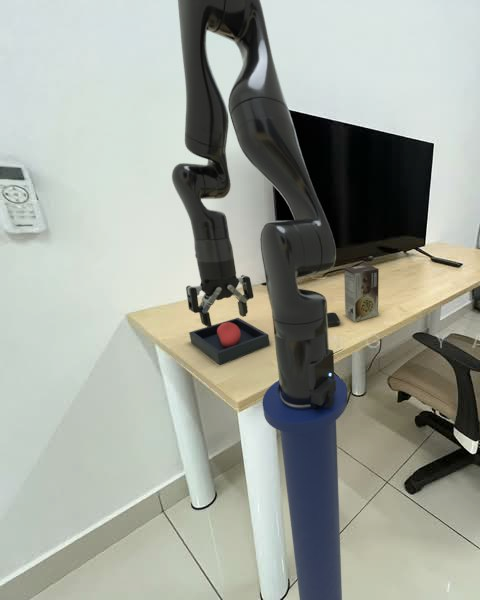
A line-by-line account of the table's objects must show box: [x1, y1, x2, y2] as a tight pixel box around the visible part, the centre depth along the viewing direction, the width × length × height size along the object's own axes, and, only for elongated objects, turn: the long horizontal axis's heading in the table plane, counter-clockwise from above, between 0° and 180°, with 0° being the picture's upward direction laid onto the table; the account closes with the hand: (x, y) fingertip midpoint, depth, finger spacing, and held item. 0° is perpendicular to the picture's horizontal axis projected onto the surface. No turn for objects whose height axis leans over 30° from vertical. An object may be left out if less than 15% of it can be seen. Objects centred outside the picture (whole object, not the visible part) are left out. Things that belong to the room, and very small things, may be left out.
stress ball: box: [217, 322, 241, 348], centre depth 80 cm, size 5×9×6 cm, turn 26°
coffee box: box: [343, 264, 380, 323], centre depth 99 cm, size 9×6×16 cm
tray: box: [188, 317, 271, 366], centre depth 80 cm, size 16×13×3 cm
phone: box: [327, 312, 341, 328], centre depth 94 cm, size 8×1×15 cm
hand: (226, 320), depth 78 cm, fingers open, 8 cm apart
